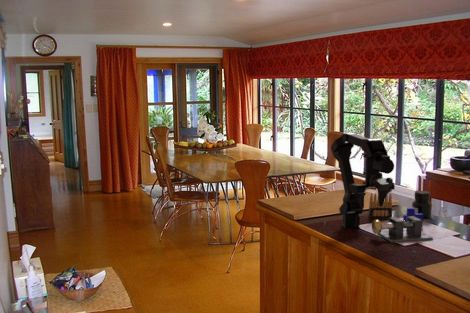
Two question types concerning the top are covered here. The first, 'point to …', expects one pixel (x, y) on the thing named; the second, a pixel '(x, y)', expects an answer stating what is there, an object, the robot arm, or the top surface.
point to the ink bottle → (422, 204)
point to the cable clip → (412, 214)
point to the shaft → (387, 226)
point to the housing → (405, 231)
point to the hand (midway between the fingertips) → (371, 207)
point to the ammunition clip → (380, 208)
